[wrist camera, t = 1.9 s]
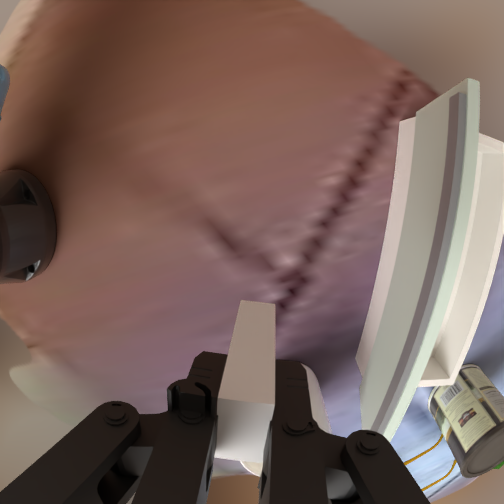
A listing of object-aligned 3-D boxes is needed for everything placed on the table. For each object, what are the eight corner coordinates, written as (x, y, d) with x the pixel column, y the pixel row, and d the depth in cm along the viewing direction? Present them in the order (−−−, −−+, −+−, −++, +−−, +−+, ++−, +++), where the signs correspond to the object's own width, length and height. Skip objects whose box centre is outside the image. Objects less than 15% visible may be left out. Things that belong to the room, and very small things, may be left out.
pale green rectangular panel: (366, 388, 31) (355, 387, 31) (424, 114, 24) (410, 111, 24) (372, 472, 20) (356, 471, 20) (479, 81, 12) (460, 74, 12)
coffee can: (462, 414, 39) (496, 472, 26) (416, 415, 39) (446, 483, 26) (493, 364, 37) (539, 418, 23) (447, 361, 37) (493, 425, 23)
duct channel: (355, 358, 37) (366, 387, 31) (399, 121, 29) (423, 114, 24) (434, 359, 37) (452, 384, 31) (484, 147, 29) (514, 147, 23)
